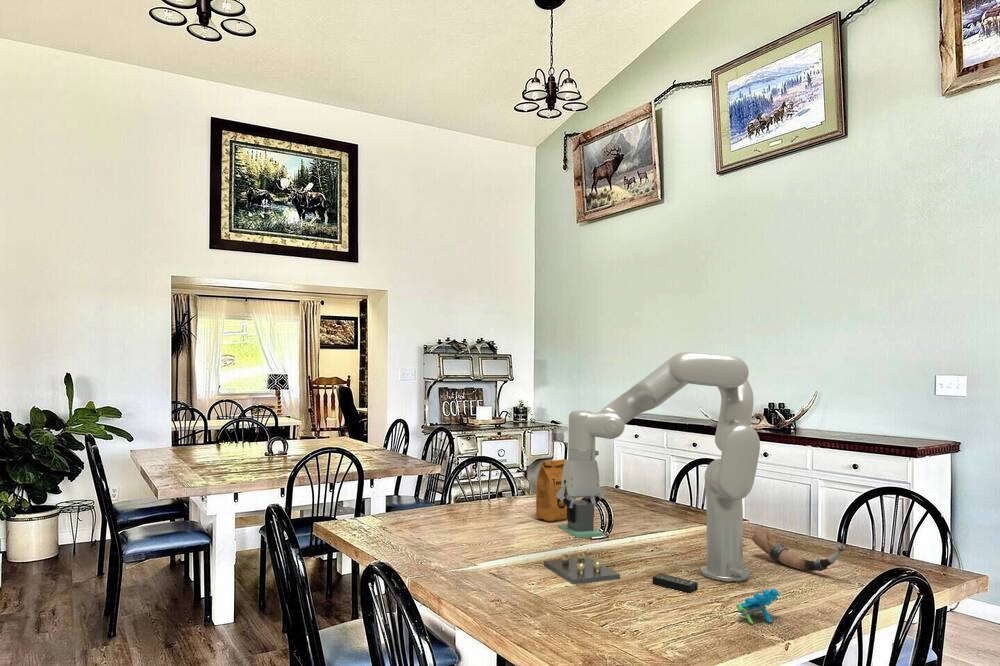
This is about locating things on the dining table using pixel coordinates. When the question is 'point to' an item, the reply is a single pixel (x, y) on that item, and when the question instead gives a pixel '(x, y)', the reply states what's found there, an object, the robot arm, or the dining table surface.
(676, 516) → the dining table surface
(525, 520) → the dining table surface
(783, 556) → the drinking horn
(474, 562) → the dining table surface
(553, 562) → the plate
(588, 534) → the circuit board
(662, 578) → the multiport hub
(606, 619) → the dining table surface
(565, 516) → the coffee package
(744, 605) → the blue toy dinosaur
